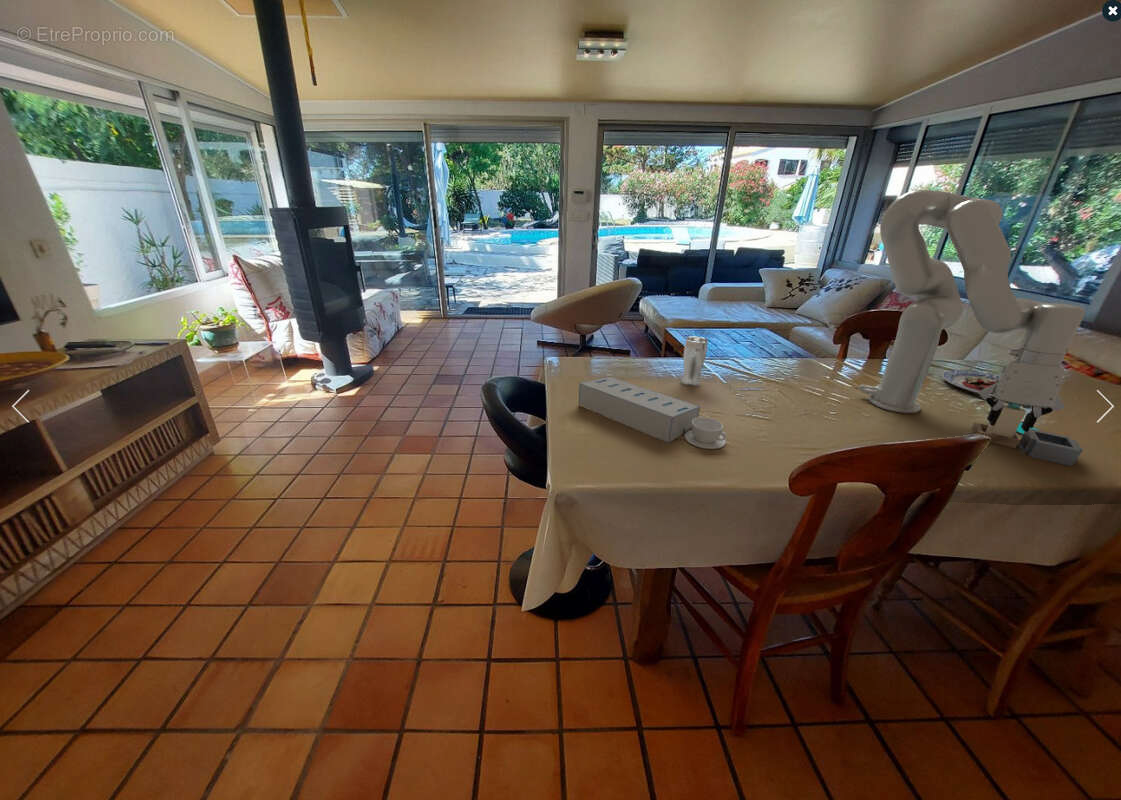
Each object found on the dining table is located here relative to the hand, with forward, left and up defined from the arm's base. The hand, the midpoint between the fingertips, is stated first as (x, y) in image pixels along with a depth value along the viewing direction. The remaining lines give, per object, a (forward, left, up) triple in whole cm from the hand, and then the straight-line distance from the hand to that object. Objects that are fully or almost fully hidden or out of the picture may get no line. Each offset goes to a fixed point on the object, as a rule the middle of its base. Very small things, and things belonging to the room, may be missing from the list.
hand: (1008, 425), depth 106 cm
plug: (-1, 0, -4) cm, 4 cm away
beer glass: (-77, -12, -4) cm, 78 cm away
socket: (+8, -3, -4) cm, 9 cm away
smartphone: (+7, +10, -5) cm, 13 cm away
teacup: (-61, -46, -5) cm, 77 cm away
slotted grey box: (-81, -44, -5) cm, 93 cm away
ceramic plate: (+4, +44, -5) cm, 45 cm away
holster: (-1, 0, -4) cm, 4 cm away
